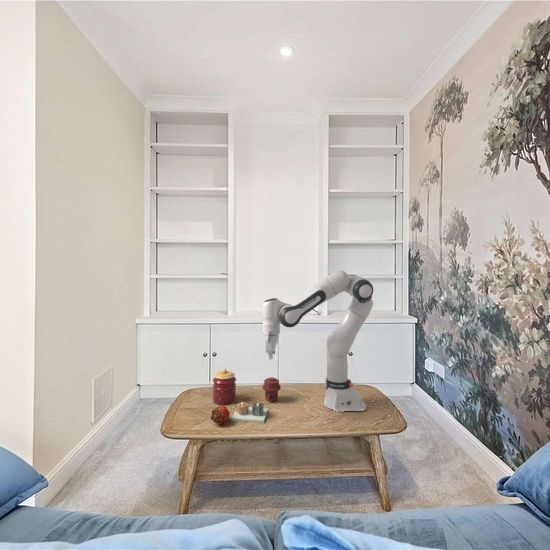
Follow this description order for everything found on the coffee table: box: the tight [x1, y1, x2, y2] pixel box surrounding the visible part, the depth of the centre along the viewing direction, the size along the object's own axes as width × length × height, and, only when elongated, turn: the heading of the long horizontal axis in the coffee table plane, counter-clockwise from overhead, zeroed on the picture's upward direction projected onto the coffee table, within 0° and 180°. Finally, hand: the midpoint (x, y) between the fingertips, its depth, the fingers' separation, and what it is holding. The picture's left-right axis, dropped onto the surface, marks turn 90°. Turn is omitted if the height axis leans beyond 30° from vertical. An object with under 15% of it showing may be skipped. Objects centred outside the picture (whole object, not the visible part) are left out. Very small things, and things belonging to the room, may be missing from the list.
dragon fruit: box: [210, 405, 230, 425], centre depth 157 cm, size 8×8×12 cm
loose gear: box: [251, 402, 265, 416], centre depth 163 cm, size 5×5×4 cm
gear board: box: [230, 401, 269, 424], centre depth 164 cm, size 16×13×6 cm
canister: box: [212, 368, 237, 406], centre depth 181 cm, size 13×13×18 cm
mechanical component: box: [262, 376, 281, 404], centre depth 182 cm, size 12×10×10 cm
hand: (272, 356), depth 168 cm, fingers open, 8 cm apart
